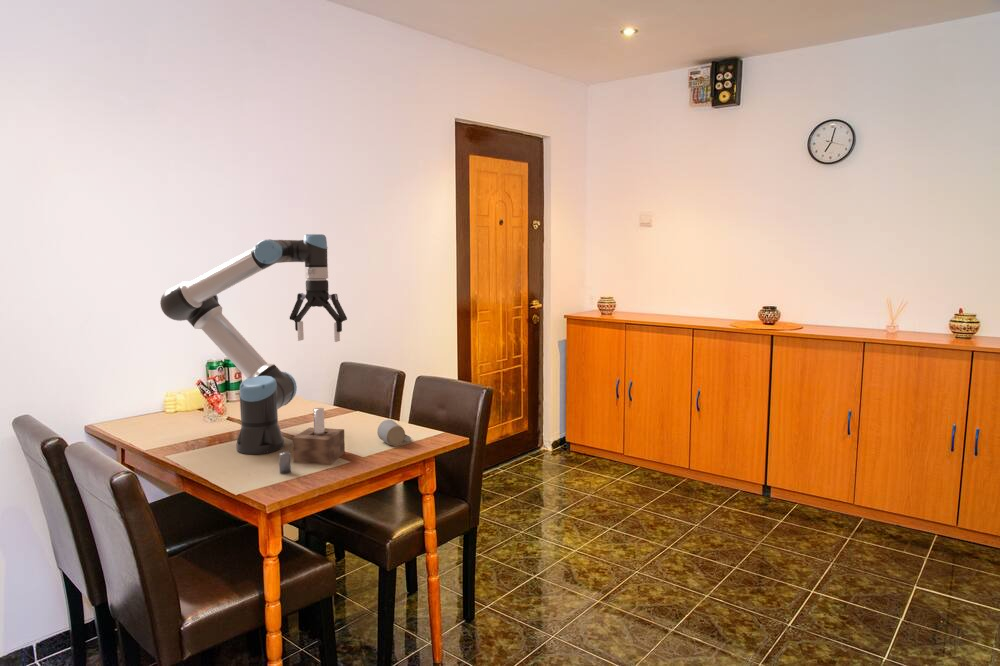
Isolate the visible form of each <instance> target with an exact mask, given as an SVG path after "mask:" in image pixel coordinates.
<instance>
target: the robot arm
mask: <svg viewBox="0 0 1000 666" xmlns="http://www.w3.org/2000/svg"><path fill="white" fill-rule="evenodd" d="M327 242H328V241H327V236H326V235H325V234H317V233H316V234H315V233H314V234H313V233H311V234H310V233H309V234H304V236H303V239H300V240H299V239H298V240H297V239H271V238H270V239H269V238H268V239H264V240H261V241H259V242H257V244H256V245H255V246H254V247H253V248H251V249H249V250H247V251H245V252H244V253H241V254H240V255H238V256H236V257H234V258H232V259H230V260H229V261H227V262H224V263H223V264H221V265H219V266H217V267H215V268H213V269H211V270H209V271H208V272H206V273H203V275H200V276H199V277H197V278H195V279H193V280H190V281H188V280H187V281H182V282H180V283H179V284H177V285H176V284H175V286H172V287H170V288H167V290H165V291H164V292H163V294H162V295H161V297H160V301H159V302H160V309H161V311H162V312H163V314H164V315H165V316H166V317H167V318H168V319H171V320H174V321H178V322H181V321H187V322H188V323H189V324H190V325H191V326H192V327H193V328H194V329H195V330H196V329H197V330H201V331H203V333H204V334H205V335H206V336H207V337H208V338H209V339H210V340H211V341H212V342H213V344H215V346H217V348H218V349H219V350H220V351H221V352H222V353H223V354H224V355H225V356H226V358H228V359H229V360H230V361H231V363H232V364H233V365H234V366H235V367H236V368H237V370H239V371H240V372H241V374H243V376H245V378H246V379H244V380H242V382H240V385H239V392H238V395H239V407H240V409H239V411H240V425H241V426H240V429H239V432H238V433H239V434H238V438H237V440H236V451H237V452H239V453H240V454H245V455H260V454H261V455H262V454H268V453H274V452H277V451H279V450H281V449H283V448H284V447H285V438H284V436H283V433H282V431H281V428H280V426H279V419H278V418H279V414H278V410H279V409H280V408H282V407H284V406H287V405H288V404H289V403H290V402H291V401H292V400H293V399H294V398H295V396H296V394H297V387H298V386H297V381H296V380H295V378H294V377H293V375H292V374H289V373H288V372H286V371H282V370H280V368H278V367H277V365H276V364H275V363H268V362H267V361H266V360H265V359H264V357H262V356H261V354H260V353H258V351H257V350H256V349H255V348H254V347H253V345H251V344H250V343H249V341H248V340H246V338H245V337H244V336H243V335H242V334H241V333H240V332H239V330H238V329H237V328H236V327H235V326H234V325H233V324H232V323H231V322H230V321H229V320H228V319H227V318H226V317H225V315H224V314H223V307H222V306H221V304H220V303H219V297H218V295H219V294H221V293H222V292H224V291H226V290H228V289H230V288H232V287H233V286H235V285H237V284H239V283H241V282H242V281H245V280H246V279H248V278H250V277H252V276H254V275H255V274H258V273H259V272H261V271H263V270H265V269H267V268H269V267H272V266H273V265H276V264H280V263H304V272H305V275H304V276H305V279H306V280H305V291H306V293H303V292H301V293H300V292H299V293H297V295H296V296H297V297H296V302H295V303H294V306H293V309H292V311H291V313H290V315H289V320H290V321H294V326H295V327H294V329H295V331H296V332H297V341H300V342H301V341H304V339H305V337H304V320H302V319H303V318H304V316H305V315H306V314H307V313H308V311H309V310H310V309H311V308H312V307H313V308H315V307H319V308H322V307H323V308H324V309H325V310H326V311H327V312H328V313H329V315H330V316H331V317H332V319H333V320H334V321H335V322H333V330H334V331H333V332H334V333H333V335H334V343H337V342H338V343H339V342H340V341H341V334H340V333H342V332H343V322H345V321H347V320H348V317H347V315H346V313H345V311H344V308H343V307H342V304H341V303H340V301H339V295H338V293H332V294H329V281H328V280H327V279H329V269H328V268H329V267H328V265H329V264H328V249H329V248H328V243H327ZM305 299H306V301H307V302H306V303H305V304H304V306H303V307H302V304H303V303H304V300H305ZM329 299H330V301H331V303H332V305H333V306H334V308H335V309H334V308H333V306H332V305H331V303H330V302H329ZM301 307H302V309H301Z"/></svg>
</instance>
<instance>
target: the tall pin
mask: <svg viewBox="0 0 1000 666" xmlns="http://www.w3.org/2000/svg"><path fill="white" fill-rule="evenodd" d="M312 411H313V428H314V435H316V436H323V435H325V429H324V428H325V409H324V407H315V408H313V410H312Z"/></svg>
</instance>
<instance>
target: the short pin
mask: <svg viewBox="0 0 1000 666" xmlns="http://www.w3.org/2000/svg"><path fill="white" fill-rule="evenodd" d="M278 460H279V461H278V463H279V464H278V465H279V474H281V475H288V474H290V473H292V467H291V465H292V464H291V452H290V451H287V450H286V451H285V450H284V451H281V452H279V453H278Z"/></svg>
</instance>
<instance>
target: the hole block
mask: <svg viewBox="0 0 1000 666" xmlns="http://www.w3.org/2000/svg"><path fill="white" fill-rule="evenodd" d="M324 429H325V435H323V436H316V435H314V427H308V428H306V429H305V430H303V431H302V432H300V433H298V434H295V436H293V437H292V456H293V457H292V458H293V460H292V461H293V462H292V463H295V464H296V463H299V464H312V465H313V464H314V465H328V466H329V465H331V464H332V463H334V462H335V461H336V460H338V459H339V458H340V457H342V456H343V455H344V454H345V453H346V450H345V448H346V447H345V445H346V444H345V443H346V442H345V429H343V428H326V427H324Z"/></svg>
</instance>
